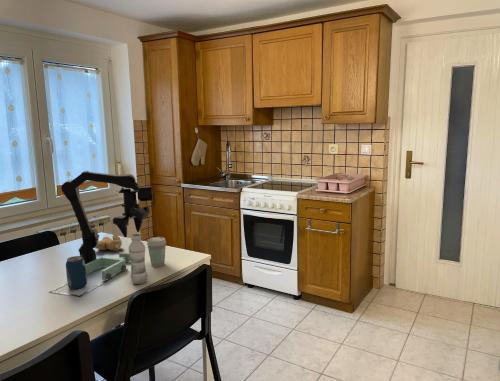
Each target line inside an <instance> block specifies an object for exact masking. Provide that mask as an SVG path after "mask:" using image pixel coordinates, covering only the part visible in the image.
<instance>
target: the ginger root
mask: <svg viewBox="0 0 500 381" xmlns="http://www.w3.org/2000/svg"><path fill="white" fill-rule="evenodd" d="M122 244H123V243H122V240H121V237H120V236H118V234H115V233H113V235H112V238H111V237H109V236H103V237H102V239H101V240H98V243H97V245H96V247H95V248H94V249H97V250H99V251H105V250H110V251H114V252H115V251H116V252H117V251H119V250H120V249H121V247H122Z"/></svg>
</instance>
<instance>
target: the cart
mask: <svg viewBox="0 0 500 381" xmlns="http://www.w3.org/2000/svg"><path fill="white" fill-rule="evenodd" d="M118 255H119V256H118V258H113V257H107V256H100V257H98V258H96V260H94V261H92V262H89V263H87V264H85V268H86V276H87V275H89V274H90V273H92V272H95V271H96V270H98V269H100V268H102V267H105V268H104V269H102V270H101V271H100V272H101V281H106V280H107V279H110V278H111V277H113V276H114V275H116V274H118V273H120V272H121V271H123V270H126V269H127V265H126V262H127V263H128V262H131V259H130V254H129V252H123V251H121V252H119V253H118ZM126 271H127V270H126Z"/></svg>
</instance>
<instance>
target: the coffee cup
mask: <svg viewBox="0 0 500 381" xmlns="http://www.w3.org/2000/svg"><path fill="white" fill-rule="evenodd" d="M166 244H167V240H166V238H165V237H162V236H156V237H155V236H154V237H150V238H148V239H147V244H146V245H147V249H148V255H149V260H150V265H151V267H153V268H161V267H163V266H165V263H166V262H165V261H166Z"/></svg>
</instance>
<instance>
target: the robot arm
mask: <svg viewBox="0 0 500 381" xmlns="http://www.w3.org/2000/svg"><path fill="white" fill-rule="evenodd" d="M136 180H137V179H136V178H135V175H133V174H129V173H128V174H109V173H102V172H101V173H100V172H94V171H90V170H84V171H83V172H81V174H79V175H77V177H75V178H74V179H68V180H66V181H65V182H63V184H62V185H61V187H60V188H61V192H62V193H63V194H64V196H65V198H66V199H67V200H68V202H69V203H70V205H71V208H72V210H73V212H74V215H75V217H76V220H77V223H78V226H79V227H80V231H81V239H82V243H81V245H80V247H79V248H78V252H79V256H82V257H83V259H84V261H85V264H87V263H89V262H92V261H94V260H96V259H97V254H96V250H95V249H96V248H95V247H96V245H97V243H98V241H100V240H99V239H100V234H98V229H97V228H94V229H93V227H92V226H91V224H90V221H89V218H88V216H87V214H86V211H85V208H84V206H83V203H82V200H81V196H80V186H81V185H82V184H84V183H85V182H86V181H89V182H97V183H104V184H105V183H106V184H113V185H116V186H119V187H121V188H120V189H119V191H118V194H122V197H123V203H122V204H121V207H122V208H123V213H121V215H118V216H115V217H113V218H112V224H113V225H115V226H117V228H118V229H119V231H120V232H121V234H122V235H123V238H127V237H128V227H129V225H130V223H129V222H130V220H131V219H133V222H134V226H135V230H136V232H137V233H140V231H141V228H142V224H143V221H144V220H146V219H147V218H148V216H149V215H150V214H151V213H150V207H149V206H144V207H140V203H138V202H137V200H139V201H140V202H153V201H154V198H153V193H154V192H153V187H152V186H150V185H149V186H140V184H139V183H138V182H137V181H136Z"/></svg>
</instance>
